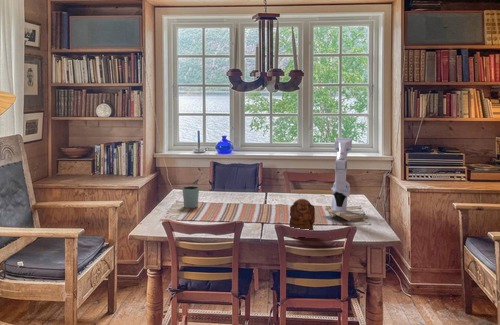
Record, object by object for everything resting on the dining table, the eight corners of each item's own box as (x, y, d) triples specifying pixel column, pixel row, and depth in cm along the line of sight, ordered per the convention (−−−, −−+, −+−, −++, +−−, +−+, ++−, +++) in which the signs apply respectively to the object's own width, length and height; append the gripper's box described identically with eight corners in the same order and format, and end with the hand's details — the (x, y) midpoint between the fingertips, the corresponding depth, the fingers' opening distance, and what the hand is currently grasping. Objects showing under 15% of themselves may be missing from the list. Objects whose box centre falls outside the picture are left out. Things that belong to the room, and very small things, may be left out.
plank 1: (324, 209, 257) (326, 206, 257) (335, 215, 260) (336, 212, 260) (331, 212, 250) (332, 209, 250) (342, 218, 253) (343, 215, 253)
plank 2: (331, 212, 250) (333, 209, 250) (342, 218, 253) (343, 215, 253) (338, 215, 243) (340, 212, 243) (349, 221, 246) (351, 218, 246)
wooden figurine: (292, 237, 217) (293, 201, 215) (288, 234, 223) (289, 198, 221) (315, 236, 220) (316, 200, 217) (311, 232, 226) (312, 197, 223)
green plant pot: (200, 205, 282) (200, 186, 281) (197, 208, 272) (197, 189, 271) (184, 204, 283) (184, 185, 282) (180, 208, 273) (180, 188, 272)
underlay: (321, 216, 257) (321, 216, 257) (348, 214, 264) (348, 213, 264) (336, 223, 243) (336, 223, 243) (364, 221, 249) (364, 220, 249)
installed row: (336, 215, 260) (337, 212, 260) (348, 214, 263) (348, 211, 263) (351, 221, 247) (351, 218, 247) (363, 220, 250) (363, 217, 249)
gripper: (326, 180, 250) (326, 204, 252) (341, 184, 237) (340, 210, 239) (337, 179, 253) (336, 203, 254) (353, 183, 239) (351, 208, 241)
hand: (339, 206), depth 247 cm, fingers closed
